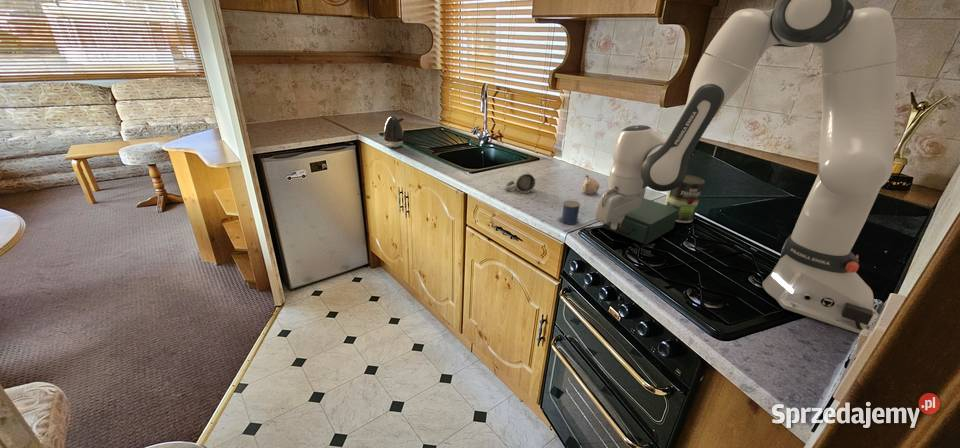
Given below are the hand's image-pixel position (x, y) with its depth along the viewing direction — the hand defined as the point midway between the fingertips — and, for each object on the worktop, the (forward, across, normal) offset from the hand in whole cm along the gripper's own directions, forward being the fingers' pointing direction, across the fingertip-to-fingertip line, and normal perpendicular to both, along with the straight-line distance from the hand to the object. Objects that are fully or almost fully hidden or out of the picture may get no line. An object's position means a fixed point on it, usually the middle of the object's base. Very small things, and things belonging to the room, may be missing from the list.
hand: (615, 228), depth 119 cm
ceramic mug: (+5, +10, +47) cm, 48 cm away
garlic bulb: (+5, +30, +28) cm, 41 cm away
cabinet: (+5, +16, 0) cm, 17 cm away
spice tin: (+5, +2, +17) cm, 18 cm away
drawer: (+4, +12, 0) cm, 13 cm away
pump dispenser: (+5, +5, +129) cm, 129 cm away
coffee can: (+5, +36, -4) cm, 37 cm away
